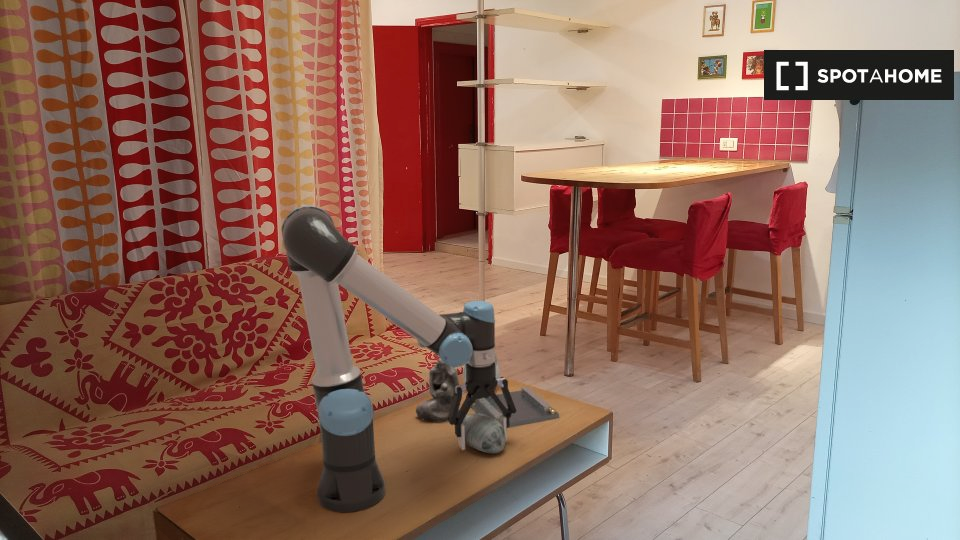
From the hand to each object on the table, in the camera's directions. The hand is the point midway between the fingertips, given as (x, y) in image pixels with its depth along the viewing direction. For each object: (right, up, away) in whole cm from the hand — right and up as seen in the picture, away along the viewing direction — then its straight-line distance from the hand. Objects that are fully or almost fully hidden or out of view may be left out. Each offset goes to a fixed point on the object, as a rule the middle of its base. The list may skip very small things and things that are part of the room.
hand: (482, 443), depth 186 cm
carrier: (+8, +4, +22) cm, 24 cm away
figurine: (-12, +3, +20) cm, 23 cm away
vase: (0, +7, +39) cm, 40 cm away
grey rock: (0, -1, 0) cm, 1 cm away
